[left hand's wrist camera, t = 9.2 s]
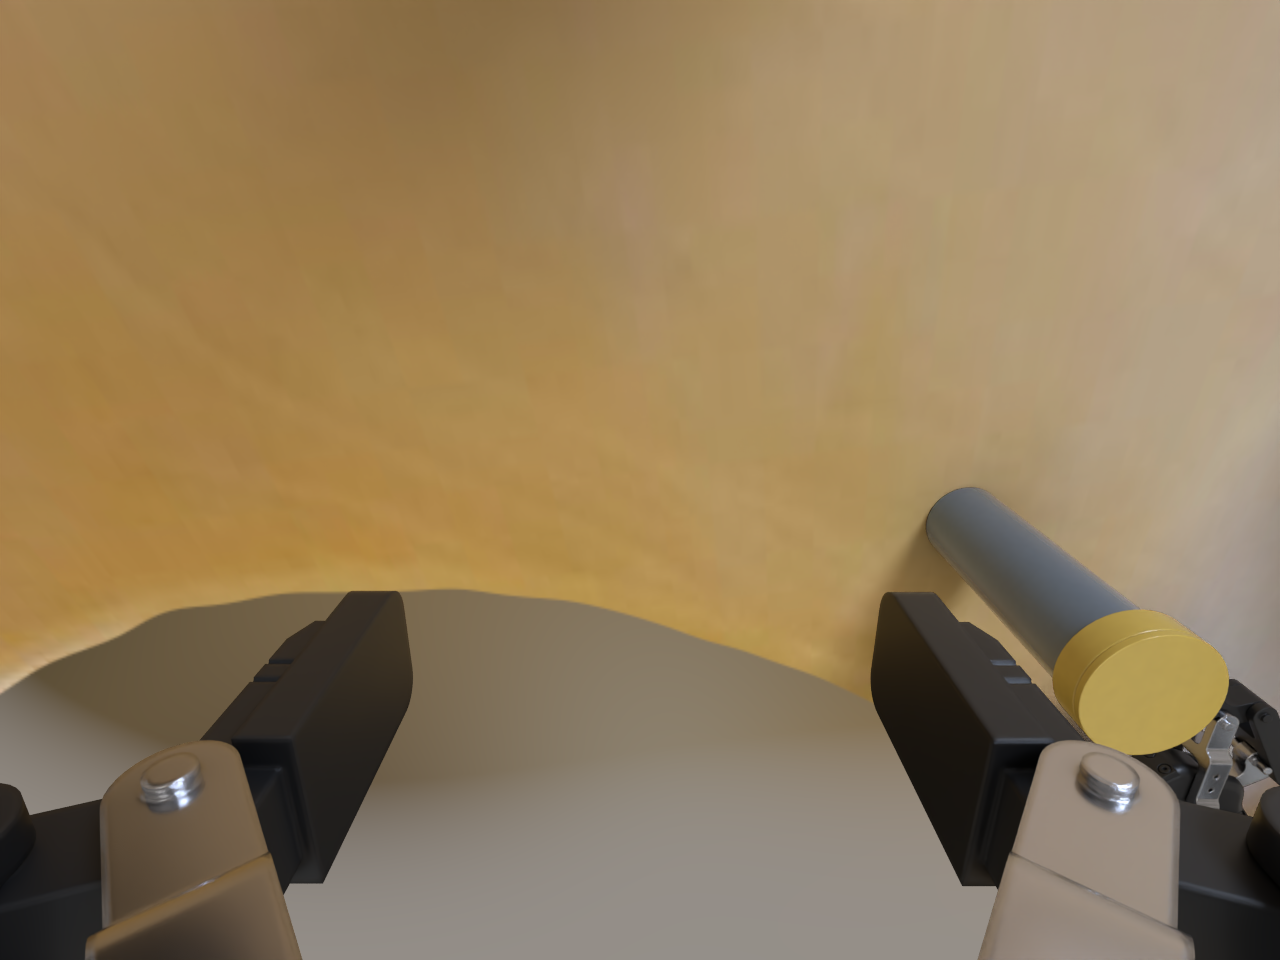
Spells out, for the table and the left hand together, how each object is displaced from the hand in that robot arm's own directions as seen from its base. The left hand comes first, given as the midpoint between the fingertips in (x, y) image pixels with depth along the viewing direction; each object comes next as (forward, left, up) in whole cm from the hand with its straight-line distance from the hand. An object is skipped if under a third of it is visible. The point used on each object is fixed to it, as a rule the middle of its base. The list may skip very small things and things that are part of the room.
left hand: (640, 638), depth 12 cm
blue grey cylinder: (-10, +19, -27) cm, 34 cm away
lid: (-10, +19, -12) cm, 24 cm away
